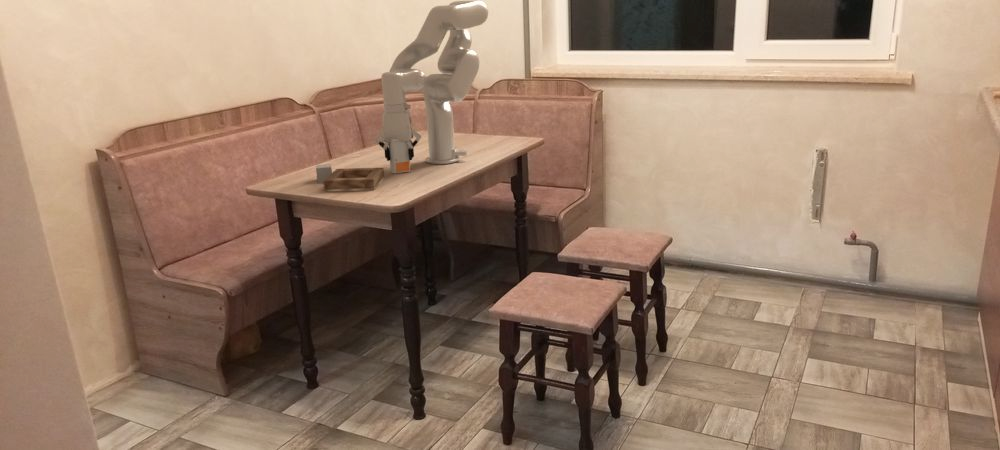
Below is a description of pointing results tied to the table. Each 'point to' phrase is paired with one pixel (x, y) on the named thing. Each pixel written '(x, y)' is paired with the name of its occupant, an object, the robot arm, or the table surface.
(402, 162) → the skincare box
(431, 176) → the table surface
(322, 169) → the grey cube
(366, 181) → the socket block
